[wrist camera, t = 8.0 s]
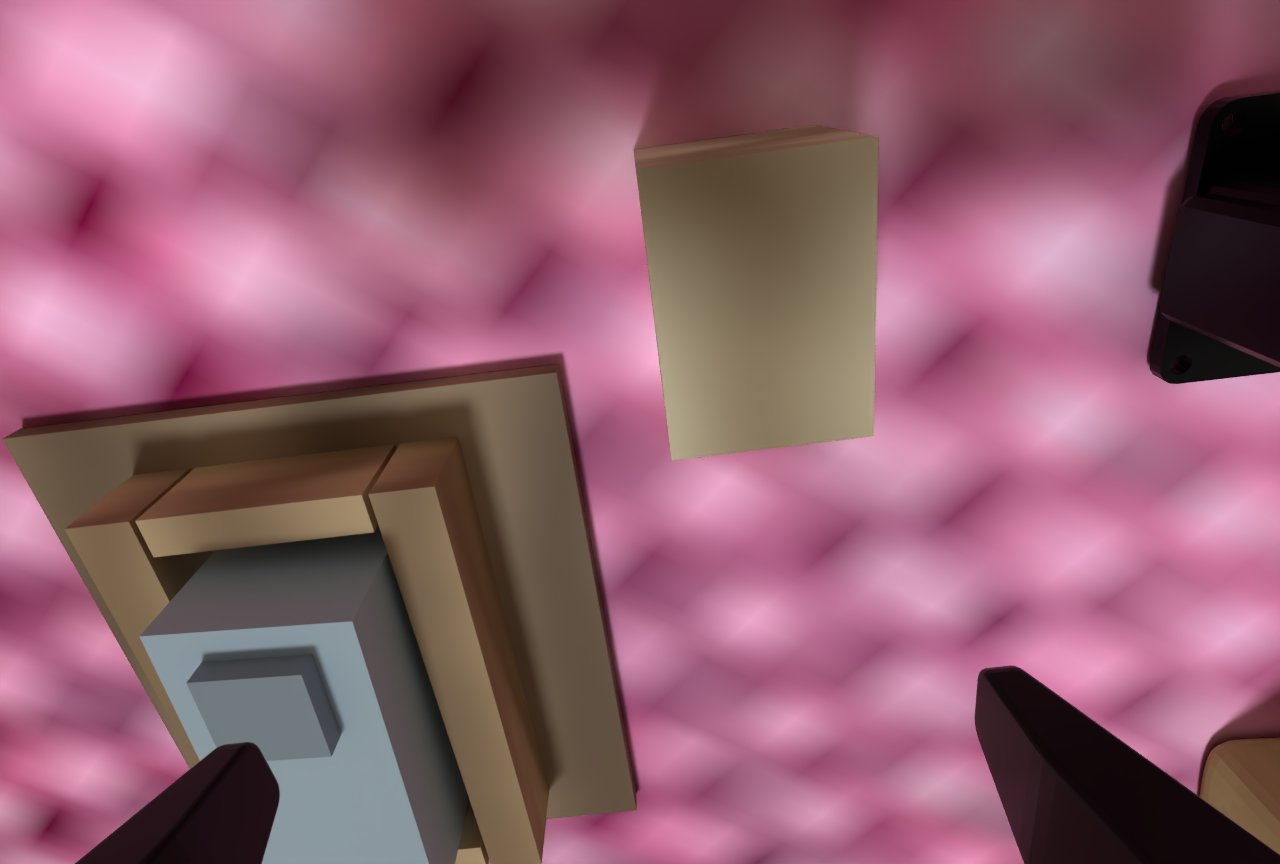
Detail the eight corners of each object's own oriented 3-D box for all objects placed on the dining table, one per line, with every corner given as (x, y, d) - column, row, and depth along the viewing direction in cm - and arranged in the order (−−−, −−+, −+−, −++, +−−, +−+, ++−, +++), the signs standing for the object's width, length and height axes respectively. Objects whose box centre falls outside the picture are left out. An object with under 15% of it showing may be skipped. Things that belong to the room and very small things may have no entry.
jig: (558, 364, 18) (545, 414, 15) (636, 794, 25) (637, 883, 22) (20, 428, 18) (-88, 489, 16) (244, 833, 25) (196, 925, 23)
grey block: (410, 507, 19) (342, 641, 14) (476, 768, 23) (439, 935, 19) (242, 519, 19) (121, 657, 14) (339, 778, 23) (268, 947, 19)
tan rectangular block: (813, 124, 16) (878, 137, 12) (817, 359, 18) (873, 436, 14) (633, 149, 16) (636, 169, 12) (661, 377, 18) (671, 460, 14)
